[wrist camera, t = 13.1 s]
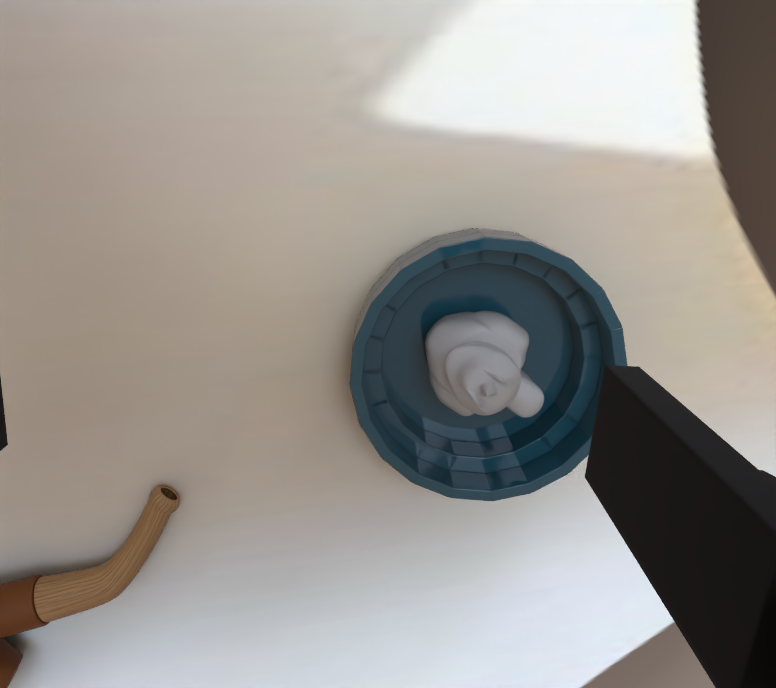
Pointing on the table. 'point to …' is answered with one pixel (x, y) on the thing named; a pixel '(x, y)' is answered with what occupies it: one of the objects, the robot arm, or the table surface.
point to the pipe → (78, 583)
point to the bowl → (542, 364)
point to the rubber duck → (481, 364)
